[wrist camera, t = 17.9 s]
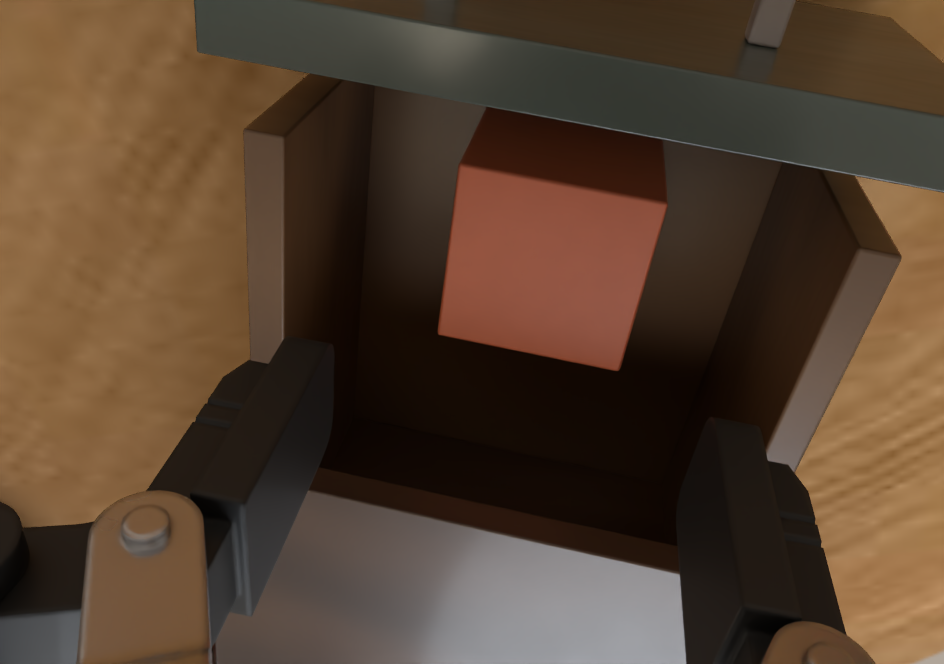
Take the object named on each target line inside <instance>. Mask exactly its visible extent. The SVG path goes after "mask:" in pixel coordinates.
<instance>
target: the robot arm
mask: <svg viewBox="0 0 944 664" xmlns="http://www.w3.org/2000/svg"><path fill="white" fill-rule="evenodd" d="M334 364H335V351H334V346H333V344H330V343H325V342H319V341H314V340H309V339H304V338H298V337H293V336H286V337H285V338H284V340H283V341H282V343H281V344H280V346H279V347H278V349H277V351H276V352H275V354H274V356H273V357H272V359H271V361H270V362H269V364H267V363H262V362H257V361H252V360H248V361H247V362H245V363H244V364H242V365H241V366H239V367H238V368H236V369H235V370H233V371H232V372H230V373H229V374H227V375H226V376H224V377H223V378H222V380H221V381H220V383H219V384H218V386H217V387H216V389H215V390H214V392H213V393H212V394H211V396H210V397H209V399H208V403H207V404H205V405H204V406H203V408H202V409H201V411H200V412H199V414H198V415H197V417H196V421H195V422H193V423H192V424H191V426H190V427H189V429H188V430H187V432H186V433H185V434H184V436H183V437H182V439H181V440H180V442H179V443H178V445H177V446H176V448H175V449H174V451H173V452H172V454H171V455H170V457H169V458H168V460H167V461H166V463H165V464H164V466H163V467H162V469H161V470H160V472H159V473H158V474H157V476H156V477H155V479H154V480H153V482H152V483H151V485H150V486H149V488H148V489H147V490H146V491H145V492H140V493H136V494H133V495H130V496H127V497H125V498H122V499H120V500H118V501H117V502H115V503H113V504H112V505H110V506H109V507H108V508H106V509H105V510H104V511H103V512H102V513H101V514H100V515H99V516H98V517H97V519H96V520H95V521H94V522H90V523H85V524H76V525H62V526H46V527H31V528H23V527H22V524H21V521H20V518H19V516H18V514H17V513H16V512H15V511H14V510H13V509H12V508H11V507H9V506H8V505H6V504H4V503H2V502H0V664H218V657H217V643H216V640H217V638H218V635H219V633H220V631H221V629H222V627H223V625H224V623H225V621H226V619H227V616H228V614H229V612H231V613H235V614H240V615H245V616H250V617H252V615H253V613H254V611H255V609H256V606H257V604H258V602H259V600H260V597H261V595H262V593H263V591H264V588H265V586H266V584H267V582H268V579H269V577H270V575H271V573H272V570H273V568H274V566H275V564H276V561H277V559H278V557H279V555H280V552H281V550H282V548H283V546H284V543H285V541H286V539H287V537H288V534H289V532H290V530H291V528H292V526H293V523H294V521H295V519H296V517H297V514H298V512H299V510H300V508H301V505H302V503H303V501H304V499H305V496H306V494H307V492H308V490H309V487H310V485H311V483H312V481H313V478H314V476H315V474H316V472H317V469H318V467H319V465H320V463H321V460H322V458H323V456H324V453H325V451H326V448H327V445H328V442H329V438H330V433H331V428H332V422H333V402H334ZM676 532H677V545H678V558H679V572H680V585H681V599H682V612H683V625H684V639H685V652H686V664H875V662H874V661H873V659H872V658H871V657H870V656H869V654H868V653H867V652H866V651H865V650H864V649H863V648H862V647H861V646H860V645H859V644H857V643H856V642H855V641H854V640H852V639H851V638H850V637H848V636H847V635H846V632H845V628H844V624H843V621H842V617H841V613H840V609H839V606H838V602H837V598H836V594H835V591H834V587H833V583H832V579H831V576H830V572H829V568H828V564H827V560H826V557H825V553H824V549H823V548H821V538H820V534H819V530H818V527H817V525H815V515H814V512H813V508H812V504H811V500H810V497H809V493H808V491H807V489H806V488H805V487H804V485H803V484H802V483H801V481H800V480H799V479H798V477H797V476H796V475H795V473H794V472H793V471H792V469H791V468H790V467H789V465H787V464H782V463H777V462H772V461H768V459H767V454H766V450H765V445H764V441H763V436H762V432H761V429H760V427H759V426H757V425H751V424H746V423H741V422H736V421H730V420H725V419H720V418H715V417H709V418H708V420H707V421H706V423H705V425H704V427H703V430H702V432H701V435H700V437H699V440H698V443H697V445H696V448H695V451H694V453H693V456H692V459H691V461H690V464H689V467H688V469H687V472H686V474H685V477H684V480H683V482H682V485H681V488H680V492H679V497H678V502H677V510H676Z"/></svg>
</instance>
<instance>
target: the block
mask: <svg viewBox="0 0 944 664" xmlns="http://www.w3.org/2000/svg"><path fill="white" fill-rule="evenodd" d="M667 208H668V198H667V185H666V173H665V161H664V149H663V140H661V139H656V138H651V137H646V136H640V135H635V134H630V133H624V132H619V131H614V130H608V129H603V128H598V127H592V126H587V125H582V124H576V123H571V122H566V121H560V120H555V119H550V118H544V117H539V116H534V115H528V114H523V113H518V112H513V111H507V110H502V109H497V108H491V107H486V109H485V111H484V113H483V115H482V118H481V120H480V122H479V124H478V126H477V128H476V130H475V132H474V134H473V136H472V138H471V140H470V142H469V145H468V147H467V149H466V151H465V153H464V155H463V157H462V159H461V161H460V163H459V165H458V172H457V180H456V188H455V196H454V204H453V212H452V220H451V228H450V236H449V244H448V252H447V260H446V267H445V275H444V283H443V291H442V299H441V307H440V315H439V323H438V334H439V335H442V336H447V337H451V338H456V339H461V340H466V341H471V342H476V343H481V344H486V345H491V346H496V347H500V348H505V349H510V350H515V351H520V352H525V353H530V354H535V355H540V356H545V357H550V358H554V359H559V360H564V361H569V362H574V363H579V364H584V365H589V366H594V367H599V368H603V369H608V370H613V371H619V369H620V368H621V364H622V361H623V358H624V354H625V351H626V347H627V344H628V341H629V337H630V334H631V330H632V327H633V324H634V320H635V317H636V313H637V310H638V306H639V303H640V300H641V296H642V293H643V289H644V286H645V283H646V279H647V276H648V272H649V269H650V266H651V262H652V259H653V255H654V252H655V248H656V245H657V242H658V238H659V235H660V231H661V228H662V225H663V221H664V218H665V214H666V211H667Z"/></svg>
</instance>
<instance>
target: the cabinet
mask: <svg viewBox="0 0 944 664" xmlns="http://www.w3.org/2000/svg"><path fill="white" fill-rule="evenodd" d="M250 360H251V359H250ZM216 643H217V657H218V664H686V652H685V639H684V625H683V612H682V599H681V585H680V572H679V558H678V546H674V545H670V544H665V543H661V542H656V541H652V540H647V539H643V538H638V537H634V536H629V535H624V534H620V533H615V532H611V531H606V530H602V529H597V528H593V527H588V526H584V525H579V524H575V523H570V522H565V521H561V520H556V519H552V518H547V517H543V516H538V515H534V514H529V513H525V512H520V511H516V510H511V509H506V508H502V507H497V506H493V505H488V504H484V503H479V502H475V501H470V500H466V499H461V498H456V497H452V496H447V495H443V494H438V493H434V492H429V491H425V490H420V489H416V488H411V487H407V486H402V485H397V484H393V483H388V482H384V481H379V480H375V479H370V478H366V477H361V476H357V475H352V474H347V473H343V472H338V471H334V470H329V469H325V468H320V467H318V469H317V472H316V474H315V476H314V478H313V481H312V483H311V485H310V487H309V490H308V492H307V494H306V496H305V499H304V501H303V503H302V505H301V508H300V510H299V512H298V514H297V517H296V519H295V521H294V523H293V526H292V528H291V530H290V532H289V534H288V537H287V539H286V541H285V543H284V546H283V548H282V550H281V552H280V555H279V557H278V559H277V561H276V564H275V566H274V568H273V570H272V573H271V575H270V577H269V579H268V582H267V584H266V586H265V588H264V591H263V593H262V595H261V597H260V600H259V602H258V604H257V606H256V609H255V611H254V613H253V615H252V617H250V616H245V615H240V614H235V613H231V612H229V614H228V616H227V619H226V621H225V623H224V625H223V627H222V629H221V631H220V633H219V635H218V638H217V640H216Z"/></svg>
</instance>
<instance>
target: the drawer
mask: <svg viewBox="0 0 944 664" xmlns="http://www.w3.org/2000/svg"><path fill="white" fill-rule="evenodd" d="M194 6H195V22H196V38H197V51H198V52H199V53H204V54H209V55H215V56H220V57H225V58H231V59H236V60H241V61H246V62H252V63H257V64H262V65H268V66H273V67H278V68H284V69H289V70H294V71H300V72H305V73H310V74H309V75H307V76H306V77H305V78H304V79H303V80H302V81H300V82H299V83H298V84H297V85H296V86H294V87H293V88H292V89H291V90H290V91H288V92H287V93H286V94H285V95H284V96H283V97H281V98H280V99H279V100H278V101H277V102H275V103H274V104H273V105H272V106H271V107H270V108H268V109H267V110H266V111H265V112H264V113H262V114H261V115H260V116H259V117H258V118H257V119H255V120H254V121H253V122H252V123H251V124H249V125H248V126H247V127H246V128H245V129H244V164H245V196H246V229H247V261H248V294H249V326H250V359H251V360H252V361H257V362H262V363H267V364H269V362H270V361H271V359H272V357H273V356H274V354H275V352H276V351H277V349H278V347H279V346H280V344H281V343H282V341H283V340H284V338H285V337H286V336H293V337H298V338H304V339H309V340H314V341H319V342H325V343H330V344H333V346H334V351H335V364H334V402H333V422H332V428H331V433H330V438H329V442H328V445H327V448H326V451H325V453H324V456H323V458H322V460H321V463H320V465H319V467H320V468H325V469H329V470H334V471H338V472H343V473H347V474H352V475H357V476H361V477H366V478H370V479H375V480H379V481H384V482H388V483H393V484H397V485H402V486H407V487H411V488H416V489H420V490H425V491H429V492H434V493H438V494H443V495H447V496H452V497H456V498H461V499H466V500H470V501H475V502H479V503H484V504H488V505H493V506H497V507H502V508H506V509H511V510H516V511H520V512H525V513H529V514H534V515H538V516H543V517H547V518H552V519H556V520H561V521H565V522H570V523H575V524H579V525H584V526H588V527H593V528H597V529H602V530H606V531H611V532H615V533H620V534H624V535H629V536H634V537H638V538H643V539H647V540H652V541H656V542H661V543H665V544H670V545H674V546H678V545H677V532H676V510H677V502H678V497H679V492H680V488H681V485H682V482H683V480H684V477H685V474H686V472H687V469H688V467H689V464H690V461H691V459H692V456H693V453H694V451H695V448H696V445H697V443H698V440H699V437H700V435H701V432H702V430H703V427H704V425H705V423H706V421H707V420H708V418H709V417H715V418H720V419H725V420H730V421H736V422H741V423H746V424H751V425H757V426H759V427H760V429H761V432H762V436H763V441H764V445H765V450H766V454H767V459H768V461H772V462H777V463H782V464H787V465H789V467H790V468H791V469H792V471H793V472H794V473H795V471H796V469H797V467H798V465H799V463H800V461H801V459H802V457H803V455H804V453H805V451H806V449H807V447H808V445H809V443H810V441H811V439H812V437H813V435H814V433H815V431H816V429H817V427H818V425H819V423H820V421H821V419H822V417H823V415H824V413H825V411H826V409H827V407H828V405H829V403H830V401H831V399H832V397H833V395H834V393H835V391H836V389H837V387H838V385H839V383H840V381H841V379H842V377H843V375H844V373H845V371H846V369H847V367H848V365H849V363H850V361H851V359H852V357H853V355H854V353H855V351H856V349H857V347H858V345H859V343H860V341H861V339H862V337H863V335H864V333H865V331H866V329H867V327H868V325H869V323H870V321H871V319H872V317H873V315H874V313H875V311H876V309H877V307H878V305H879V303H880V301H881V299H882V297H883V295H884V293H885V291H886V289H887V287H888V285H889V283H890V281H891V279H892V277H893V275H894V273H895V271H896V269H897V267H898V265H899V263H900V261H901V254H900V252H899V251H898V249H897V247H896V246H895V244H894V242H893V240H892V239H891V237H890V235H889V234H888V232H887V230H886V228H885V227H884V225H883V223H882V222H881V220H880V218H879V216H878V215H877V213H876V211H875V210H874V208H873V206H872V204H871V203H870V201H869V199H868V198H867V196H866V194H865V192H864V191H863V189H862V187H861V186H860V184H859V182H858V180H857V179H856V177H855V176H858V177H864V178H869V179H874V180H880V181H885V182H890V183H896V184H901V185H906V186H912V187H917V188H922V189H928V190H933V191H938V192H943V193H944V63H943V62H942V61H941V60H939V59H938V58H937V57H936V56H935V55H934V54H932V53H931V52H930V51H929V50H928V49H927V48H925V47H924V46H923V45H922V44H921V43H920V42H918V41H917V40H916V39H915V38H914V37H913V36H911V35H910V34H909V33H908V32H907V31H906V30H904V29H903V28H902V27H901V26H900V25H899V24H897V23H896V22H895V21H894V20H893V19H892V18H890V17H884V16H879V15H873V14H867V13H862V12H856V11H850V10H844V9H839V8H833V7H827V6H822V5H816V4H810V3H804V2H799V1H796V0H194ZM486 107H491V108H497V109H502V110H507V111H513V112H518V113H523V114H528V115H534V116H539V117H544V118H550V119H555V120H560V121H566V122H571V123H576V124H582V125H587V126H592V127H598V128H603V129H608V130H614V131H619V132H624V133H630V134H635V135H640V136H646V137H651V138H656V139H661V140H663V149H664V161H665V173H666V185H667V198H668V208H667V211H666V214H665V218H664V221H663V225H662V228H661V231H660V235H659V238H658V242H657V245H656V248H655V252H654V255H653V259H652V262H651V266H650V269H649V272H648V276H647V279H646V283H645V286H644V289H643V293H642V296H641V300H640V303H639V306H638V310H637V313H636V317H635V320H634V324H633V327H632V330H631V334H630V337H629V341H628V344H627V347H626V351H625V354H624V358H623V361H622V364H621V368H620V369H619V371H613V370H608V369H603V368H599V367H594V366H589V365H584V364H579V363H574V362H569V361H564V360H559V359H554V358H550V357H545V356H540V355H535V354H530V353H525V352H520V351H515V350H510V349H505V348H500V347H496V346H491V345H486V344H481V343H476V342H471V341H466V340H461V339H456V338H451V337H447V336H442V335H439V334H438V323H439V315H440V307H441V299H442V291H443V283H444V275H445V267H446V260H447V252H448V244H449V236H450V228H451V220H452V212H453V204H454V196H455V188H456V180H457V172H458V165H459V163H460V161H461V159H462V157H463V155H464V153H465V151H466V149H467V147H468V145H469V142H470V140H471V138H472V136H473V134H474V132H475V130H476V128H477V126H478V124H479V122H480V120H481V118H482V115H483V113H484V111H485V109H486Z"/></svg>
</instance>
